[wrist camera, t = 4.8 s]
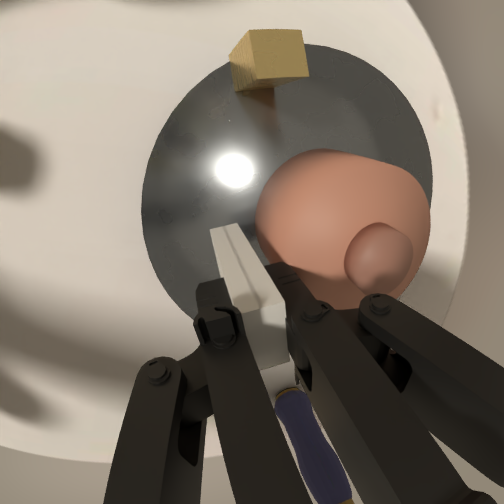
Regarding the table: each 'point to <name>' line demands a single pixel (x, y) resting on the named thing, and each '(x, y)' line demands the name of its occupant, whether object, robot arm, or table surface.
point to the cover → (344, 225)
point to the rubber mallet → (312, 449)
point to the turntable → (263, 145)
